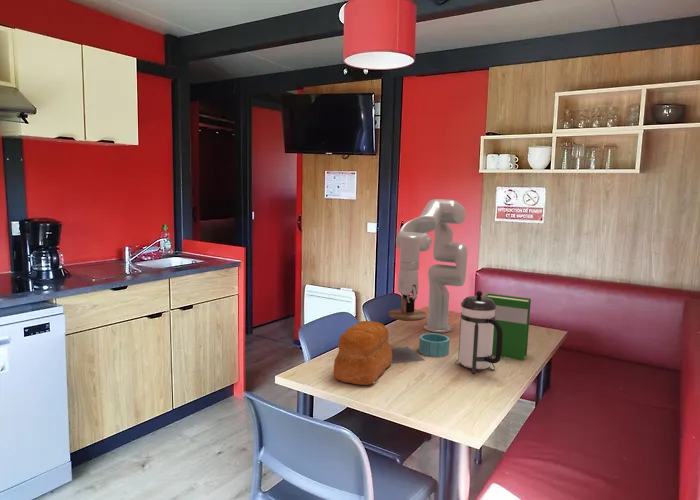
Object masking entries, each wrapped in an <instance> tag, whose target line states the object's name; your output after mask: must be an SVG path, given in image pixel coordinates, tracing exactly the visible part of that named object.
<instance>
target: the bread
mask: <svg viewBox="0 0 700 500" xmlns="http://www.w3.org/2000/svg"><path fill="white" fill-rule="evenodd" d="M389 334H390V333H389V329H388V328H387V327H386V326H385V324H383V323H381V322H377V321H370V320H362V321H359V322H358V323H356V324H354V325H351V326H350V327H349V328H347V329H346V330H345V331H344V333H343V334H341V335H340V336H339V339H338V344H337V348H338V352H337V355H336V357H335V359H334V363H333V376H334V378H335V380H336V381H339V380H340V382H342V383H348V384H351V385H352V384H353V385H361V386H362V385H363V386H366V385H367V386H368V385H372V384H373V383H375V382H377V380H378V378H379V377H380V376H381V375H383V374H384V372H385V370H386V369H387V368H389V367H390V366H391V365H392V364H391V362H392V349H391V348H392V347H391V345H390V342H389V340H388V339H389V336H390V335H389Z"/></svg>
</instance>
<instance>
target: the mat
mask: <svg viewBox="0 0 700 500" xmlns="http://www.w3.org/2000/svg"><path fill="white" fill-rule="evenodd" d="M391 349H392V362H391V365H392V364H401V363H412V362H419V361H420V362H423V361H426V359H425V358H423V357H422V356H420V355H419V354H418V353H417V352H416V351H414V350H413V349H411V348H410V347H409V346H405V347H393V348H392V347H391Z"/></svg>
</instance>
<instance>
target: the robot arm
mask: <svg viewBox="0 0 700 500" xmlns="http://www.w3.org/2000/svg"><path fill="white" fill-rule="evenodd" d="M426 203H427V204H426V205H425V207H424V208H423V210H422V212H421V213H420V215H419V216H417V217H415V218H413V219H411V220H408V221H407V222H405V223H404V224H403V225H402V226H401V227H400V229H399V231H398V232H397V234H396V238H395V245H396V247H397V248H398V249H400V251H399V252H400V253H399V271H398V280H397V291H398V292H399V293H400V294H401V295H400V297H401V298H405V297H407V302H408V303H406V312H407V313H411V312H414V309H415V305H414V303H416V299H418V293H419V268H420V252H422V253H424V252H427V251H428V250H429V249H430V248H431V247H432V238H431V235H429V234H428V232H432V231H434V236H433V238H434V239H433V248H432V249H433V250H432V253H433V255H432V256H433V259H434V260H435V261H437V262H441V263H442V262H443V263H452V264H453V263H454V264H455V265H449V264H443V263H442V264H441V263H440V264H439V263H437V264H432V265H430V267H428V271H427V277H428V286H429V287H428V288H429V289H428V290H429V292H428V310H427V311H428V312H427V317H426V321H427V323H426V324H425V325H424V326H423V327H424V329H425V330H426V331H428V332H431V333H437V334H440V333H448V332H450V331H452V327H451V326H450V325H449V324H448V323H449V308H450V307H449V306H450V292H449V290H448V288H447V286H450V287H463V285H464V284H465V282H466V276H467V266H468V265H467V264H468V248H467V246H466V245H465V244H464V243H461V242H453V236H454V235H453V234H454V232H453V229H452V227H451V226H450V224H454V225H460V224H462V223H464V222H465V219H466V216H467V213H466V209H465V207H464V206H463V205H462V204H461V203H460V202H458V201H457V200H454V199H441V198H440V199H439V198H438V199H437V198H436V199H435V198H434V199H431V200H429V201H428V202H426ZM410 297H411V298H410ZM401 298H400V299H401Z"/></svg>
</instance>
